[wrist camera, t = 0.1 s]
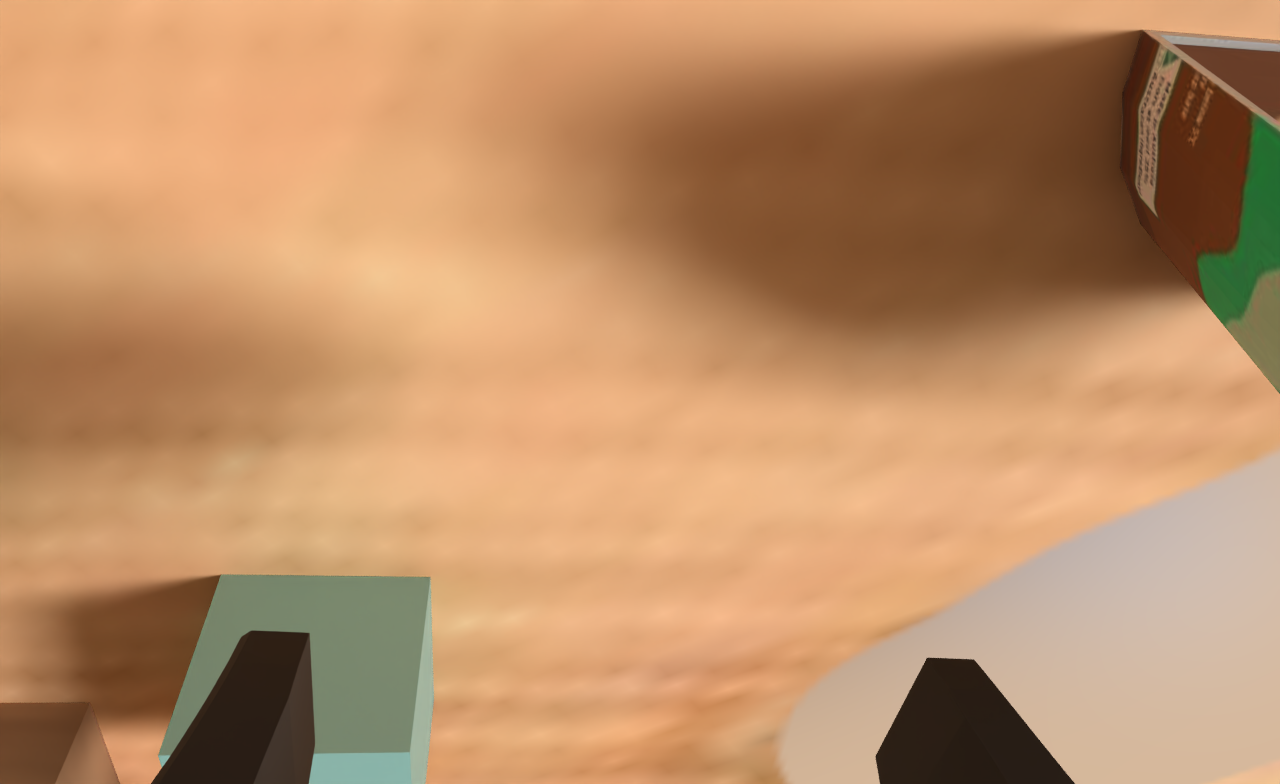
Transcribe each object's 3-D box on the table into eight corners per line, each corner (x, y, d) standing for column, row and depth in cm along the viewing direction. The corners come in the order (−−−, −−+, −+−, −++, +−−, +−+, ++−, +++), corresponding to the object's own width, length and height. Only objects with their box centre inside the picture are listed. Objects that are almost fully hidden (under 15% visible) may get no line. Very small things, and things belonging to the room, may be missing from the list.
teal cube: (434, 697, 27) (416, 874, 23) (248, 698, 27) (197, 880, 23) (430, 574, 24) (410, 752, 20) (222, 572, 24) (158, 755, 20)
